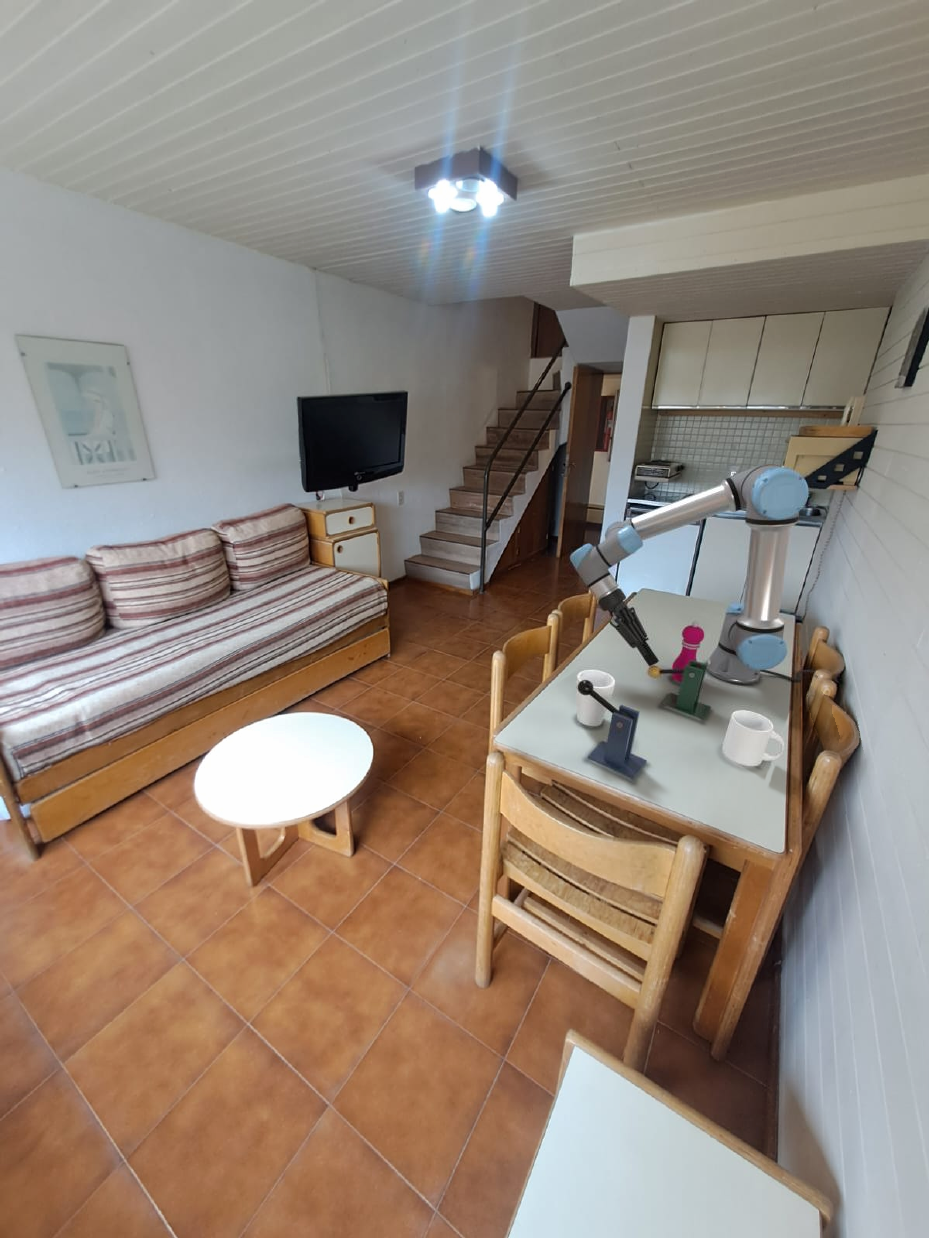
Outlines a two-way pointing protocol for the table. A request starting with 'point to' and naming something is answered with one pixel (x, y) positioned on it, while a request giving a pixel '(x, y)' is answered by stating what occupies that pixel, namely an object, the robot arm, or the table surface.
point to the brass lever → (664, 671)
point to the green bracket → (690, 692)
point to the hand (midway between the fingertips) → (654, 663)
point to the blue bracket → (620, 745)
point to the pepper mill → (688, 648)
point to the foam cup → (587, 706)
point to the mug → (749, 738)
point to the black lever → (598, 697)
